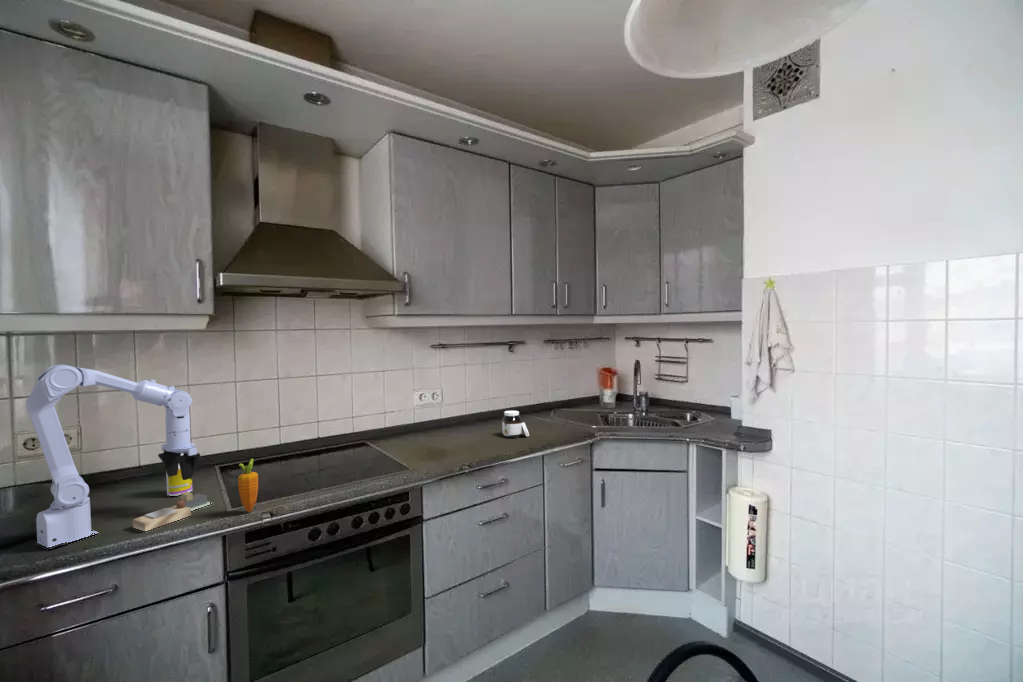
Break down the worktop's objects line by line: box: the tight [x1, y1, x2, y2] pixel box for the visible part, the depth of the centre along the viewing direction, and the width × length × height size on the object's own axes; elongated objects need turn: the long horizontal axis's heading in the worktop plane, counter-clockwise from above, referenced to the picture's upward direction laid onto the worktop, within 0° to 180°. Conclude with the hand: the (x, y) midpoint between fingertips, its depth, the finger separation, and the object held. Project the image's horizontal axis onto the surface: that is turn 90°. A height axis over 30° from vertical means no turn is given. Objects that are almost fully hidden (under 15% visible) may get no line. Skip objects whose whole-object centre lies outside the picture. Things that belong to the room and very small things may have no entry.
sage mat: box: [191, 500, 213, 512], centre depth 135 cm, size 8×8×1 cm
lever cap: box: [180, 492, 208, 508], centre depth 135 cm, size 6×4×4 cm, turn 154°
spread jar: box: [501, 410, 530, 439], centre depth 212 cm, size 12×11×12 cm
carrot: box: [237, 458, 259, 513], centre depth 129 cm, size 5×5×15 cm
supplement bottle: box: [165, 453, 193, 497], centre depth 147 cm, size 7×7×13 cm
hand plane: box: [132, 498, 192, 531], centre depth 124 cm, size 11×6×4 cm, turn 153°
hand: (179, 477), depth 133 cm, fingers open, 7 cm apart
